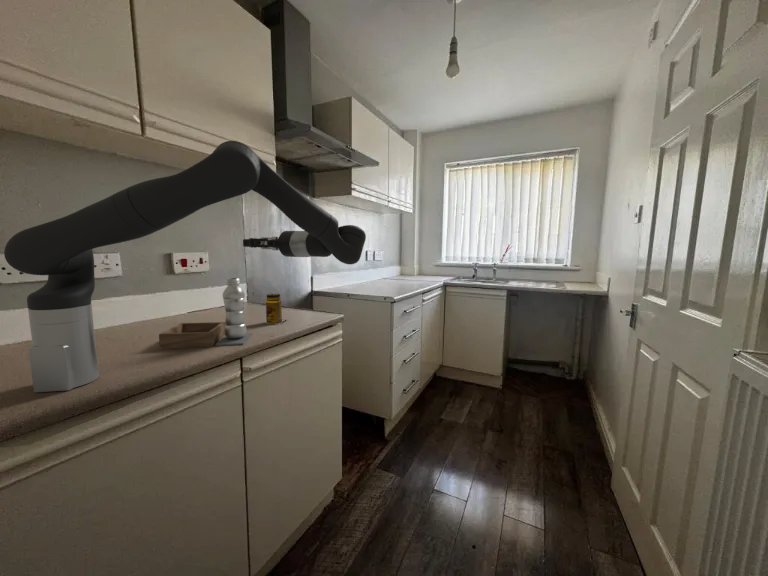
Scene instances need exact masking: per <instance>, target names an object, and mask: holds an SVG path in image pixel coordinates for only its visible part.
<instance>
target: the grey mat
mask: <svg viewBox="0 0 768 576" xmlns="http://www.w3.org/2000/svg"><path fill="white" fill-rule="evenodd" d="M252 336H253V332H246V334H245V336H243V337H241V338H236V339H231V338H227V337H226V336H224V337H222V338H221V339H220V340H219V341H218V342H216V343H215V347H221V346H223V347H224V346H243V345H245V343H246V342H247V341H248V340H249V339H250V337H252Z"/></svg>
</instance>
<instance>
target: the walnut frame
mask: <svg viewBox="0 0 768 576" xmlns="http://www.w3.org/2000/svg"><path fill="white" fill-rule="evenodd" d="M225 322H226V321H217V322H213V321H211V322H209V321H208V322H180V323H178V324H177V325H174V326H173V327H169V329H166V330H164V331H162V332H160V333H159V334H158V339H159V349H160V350H169V349H189V348H190V349H191V348H193V349H195V348H196V349H197V348H212V347H213V346H214V345H216V343H217V342H219V341H220V340H221V339H222V338H223V337H225V332H224V330H225V325H226V324H225Z"/></svg>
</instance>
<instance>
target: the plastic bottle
mask: <svg viewBox="0 0 768 576" xmlns="http://www.w3.org/2000/svg"><path fill="white" fill-rule="evenodd" d="M240 279H241V278H239V277H228V278H226V285H227V287H226V288H225V289H224V290H223V292H222V299H223V304H224V311H225V321H224V322H225V324H226V325H225V330H224V332H225V336H226V337H227V338H231V339H236V338H241V337H243V336H245V334H246V333H247V325H246V322H245V314H244V313H245V310H244V309H245V307H244V305H245V295H246V293H245V292H244V290H243V288H242V287H241V286H240V284H241V282H240V281H241V280H240ZM225 336H224V337H225Z"/></svg>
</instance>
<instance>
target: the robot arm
mask: <svg viewBox="0 0 768 576" xmlns="http://www.w3.org/2000/svg"><path fill="white" fill-rule="evenodd" d="M251 191H253V192H255V193H256V194H259V195H260V196H262V197H263V198H264V199H266V200H267V201H269V202H270V203H271V204H273V205H274V206H275V207H276V208H277V209H279V211H281V212H282V213H283V214H284V215H285V216H286V217H287V218H288V219H289V220H290V221H291V222H293V223H294V224H295V225H296V226H297V227H298V228H300V229H301V230H284V231H282V232H281V233H280V235H279V236H272V237H267V236H262V237H260V238H258V237H257V238H254V237H250V238H244V239H242V246H243V247H244V248H251V249H252V248H254V249H255V248H260V249H261V250H271V251H279V252H280V254H281V255H283V257H286V258H287V257H288V258H312V257H314V258H318V257H319V258H326V257H327V258H328V257H330V256H333V257H334V258H335V259H336V260H337V261H339V262H340V263H343V264H344V265H345V264H346V265H355V264H357V263H358V262H359V261H360V259H361V257H362V253H363V251H364V250H363V249H364V247H365V243H366V239H367V238H366V237H367V234H366V232H365V231H364V230H363V229H362V228H361V227H359V226H358V225H353V224H346V225H342V226H339V221H338V219H337V218H336V217H335V216H333V214H331V213H329V212H328V211H327V210H325V209H323V208H322V207H321V206H320V205H318V204H317V203H315V202H314V201H312V200H311V199H310V198H309V197H308V196H305V195H304V194H303V193H302V192H300V191H299V190H297V189H296V188H295V187H293V185H291V184H290V183H288V182H287V181H286V180H285V179H284V178H283V177H282V176H281V175H279V174H278V173H277V172H276V171H275V170H273V169H272V167H271V166H269V165H268V164H267V163H266V162H265V161H264V160H263V159H262V158H261V157H260V156H259V155H258V154H257V153H256V152H255V151H254V150H253V149H252V148H251V147H250V146H249V145H248V144H245V143H244V142H241V141H238V140H227V141H224V142H221V143H220V144H218V146H217V147H216V148H214V150H213V151H212V152H211V153H210V154H209V155H208V156H206V157H205V158H204V159H201V160H200V161H199V162H197V163H195V164H193V165H192V166H190V167H188V168H187V169H185V170H183V171H181V172H178V173H175V174H172V175H168V176H162V177H158V178H153V179H149V180H145V181H141V182H138V183H136V184H134V185H130V186H129V187H126V188H124V189H122V190H120V191H117V192H115V193H114V194H111V195H109V196H107V197H105V198H104V199H101V200H99V201H97V202H94V203H91V204H90V205H87V206H85V207H83V208H81V209H79V210H77V211H75V212H72V213H70V214H67V215H65V216H63V217H60V218H56V219H54V220H51V221H48V222H45V223H41V224H38V225H35V226H32V227H29V228H26V229H25V228H24V229H22V230H20V231H19V232H17V233H15V234H14V235H13V236H11V238H9V240H8V241H7V242H6V245H5V246H4V250H3V251H4V253H3V255H4V259H5V261H6V262H7V264H8V265H9V266H10V267H12V268H13V269H14V270H16V271H18V272H19V273H24V274H27V275H32V276H47V282H46V283H45V284H44V285H43V286H42V287H41V288H39V289H37V290H35V291H33V292H31V293H30V294H29V295H28V296H26V297H27V298H26V304H27V311H28V319H29V327H30V336H31V344H32V345H31V346H30V347H29V348H28V356H29V365H30V372H31V379H32V387H33V393H45V392H46V393H47V392H48V393H50V392H64V391H70V390H72V389H75V388H77V387H81V386H84V385H86V384H87V385H88V384H90V383H92V382H94V381H96V380H97V379H98V378H99V376H100V375H99V365H98V355H97V347H96V346H97V345H96V338H95V337H96V334H95V329H94V328H95V326H94V317H93V316H94V314H93V306H92V297H93V296H92V295H93V294H94V291H95V288H96V287H95V285H96V284H95V282H96V281H95V280H96V279H95V257H94V252H93V249H97V248H102V247H106V246H110V245H115V244H120V243H125V242H129V241H133V240H136V239H137V240H138V239H141V238H144V237H147V236H149V235H152V234H154V233H156V232H158V231H160V230H163V229H165V228H167V227H169V226H171V225H172V224H173V225H174V223H177V222H179V221H181V220H183V219H185V218H186V217H189V216H190V215H192V214H194V213H196V212H197V211H199V210H201V209H203V208H205V207H208V206H211V205H213V204H214V205H215V204H217V203H220V202H223V201H226V200H230V199H232V198H236V197H239V196H243V195H244V194H247V193H249V192H251Z"/></svg>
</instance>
